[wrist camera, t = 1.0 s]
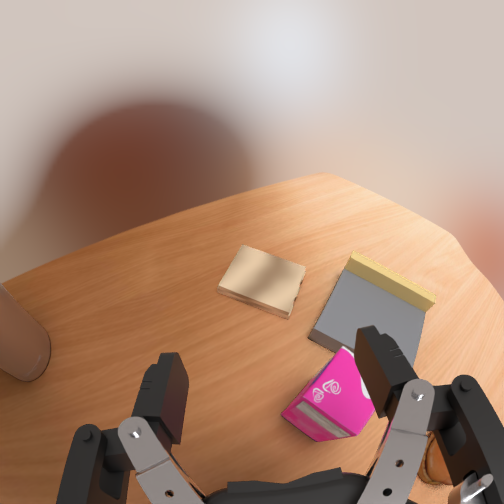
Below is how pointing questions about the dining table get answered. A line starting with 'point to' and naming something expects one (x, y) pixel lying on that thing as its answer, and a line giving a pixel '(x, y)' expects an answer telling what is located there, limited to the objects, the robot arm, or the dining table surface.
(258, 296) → the block
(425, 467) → the burger
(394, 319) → the dock
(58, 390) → the dining table surface
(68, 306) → the dining table surface
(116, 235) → the dining table surface
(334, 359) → the supplement box
